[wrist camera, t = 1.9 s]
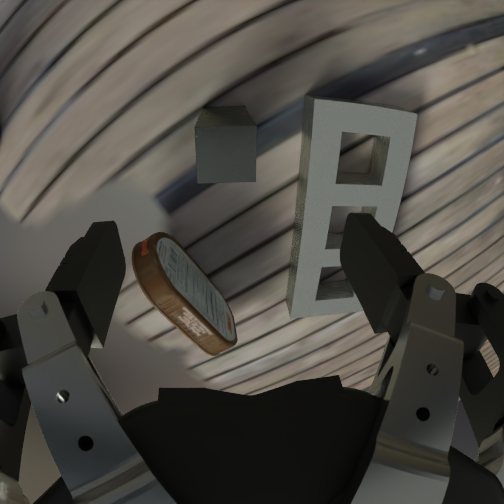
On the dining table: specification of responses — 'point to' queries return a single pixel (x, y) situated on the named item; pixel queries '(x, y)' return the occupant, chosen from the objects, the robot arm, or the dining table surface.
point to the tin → (183, 293)
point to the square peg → (225, 145)
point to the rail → (342, 193)
